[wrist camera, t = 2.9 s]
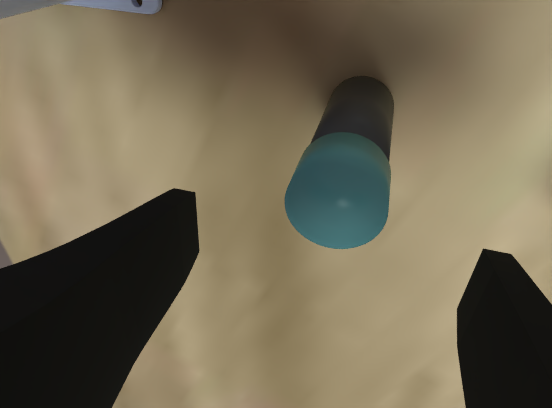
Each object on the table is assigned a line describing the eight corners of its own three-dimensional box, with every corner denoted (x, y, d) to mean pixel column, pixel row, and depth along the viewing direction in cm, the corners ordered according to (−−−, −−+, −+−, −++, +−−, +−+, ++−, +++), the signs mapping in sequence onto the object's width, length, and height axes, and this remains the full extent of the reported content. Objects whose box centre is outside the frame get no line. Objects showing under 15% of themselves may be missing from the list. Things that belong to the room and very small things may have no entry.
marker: (323, 133, 20) (281, 237, 13) (331, 69, 18) (287, 154, 12) (388, 144, 19) (377, 257, 13) (403, 78, 18) (398, 172, 11)
